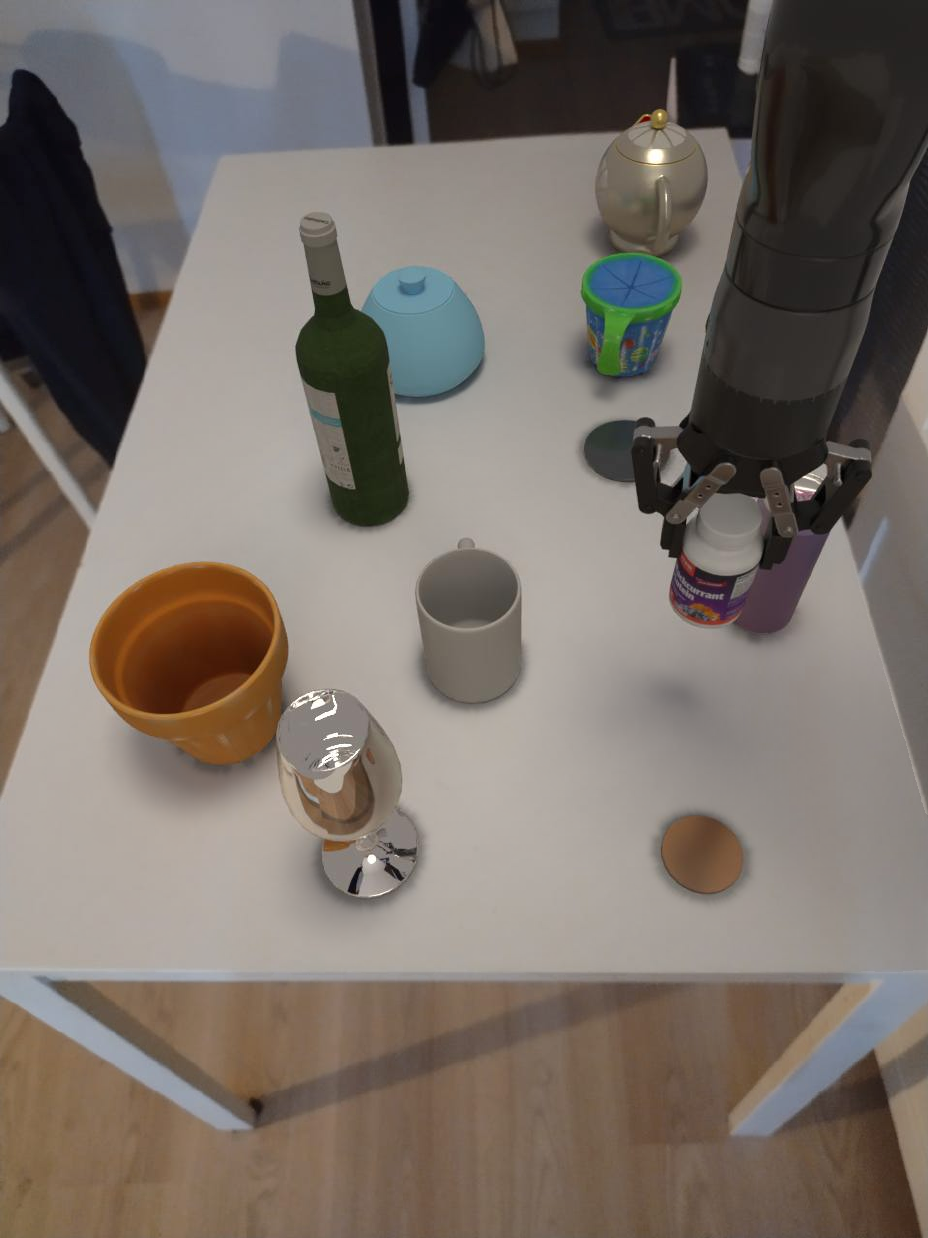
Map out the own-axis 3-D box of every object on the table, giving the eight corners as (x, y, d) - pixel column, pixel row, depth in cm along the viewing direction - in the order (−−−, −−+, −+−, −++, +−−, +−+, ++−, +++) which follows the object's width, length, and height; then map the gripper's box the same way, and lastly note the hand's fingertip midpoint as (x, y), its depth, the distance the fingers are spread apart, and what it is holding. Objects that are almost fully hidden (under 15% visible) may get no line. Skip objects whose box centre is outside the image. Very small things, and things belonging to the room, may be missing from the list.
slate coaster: (672, 426, 92) (673, 424, 92) (666, 486, 87) (666, 484, 87) (589, 417, 94) (589, 415, 94) (578, 476, 89) (578, 474, 89)
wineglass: (309, 893, 65) (240, 782, 49) (332, 797, 69) (275, 666, 53) (411, 906, 64) (374, 797, 48) (427, 808, 69) (399, 678, 52)
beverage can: (792, 641, 76) (845, 528, 64) (723, 634, 77) (762, 522, 64) (788, 587, 79) (838, 471, 67) (722, 581, 80) (759, 465, 68)
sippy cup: (642, 413, 94) (654, 334, 85) (553, 388, 97) (556, 309, 89) (688, 331, 102) (703, 251, 93) (604, 310, 105) (612, 231, 96)
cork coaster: (743, 824, 66) (744, 823, 66) (740, 900, 63) (741, 899, 63) (664, 810, 67) (665, 809, 67) (658, 885, 64) (658, 883, 64)
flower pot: (230, 625, 80) (186, 533, 69) (346, 698, 75) (318, 611, 64) (115, 739, 74) (47, 657, 63) (234, 827, 68) (182, 754, 58)
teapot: (584, 214, 117) (593, 84, 104) (685, 207, 117) (706, 76, 103) (601, 293, 107) (613, 159, 93) (711, 286, 106) (739, 151, 93)
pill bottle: (652, 602, 63) (670, 513, 55) (697, 560, 65) (720, 468, 57) (714, 644, 61) (741, 557, 53) (758, 599, 63) (791, 509, 55)
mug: (525, 701, 74) (527, 628, 65) (426, 707, 74) (414, 635, 65) (514, 590, 81) (514, 510, 72) (424, 596, 81) (412, 517, 72)
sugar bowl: (386, 314, 106) (374, 225, 97) (502, 334, 103) (500, 244, 93) (337, 391, 98) (317, 302, 89) (460, 416, 95) (453, 326, 86)
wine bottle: (424, 488, 89) (389, 208, 64) (378, 538, 85) (323, 262, 61) (363, 461, 92) (308, 182, 67) (317, 508, 88) (241, 232, 64)
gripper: (631, 381, 44) (606, 583, 58) (931, 409, 41) (831, 613, 55) (645, 294, 48) (619, 502, 62) (919, 314, 46) (828, 526, 59)
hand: (719, 553), depth 58 cm, fingers closed on pill bottle, 5 cm apart
